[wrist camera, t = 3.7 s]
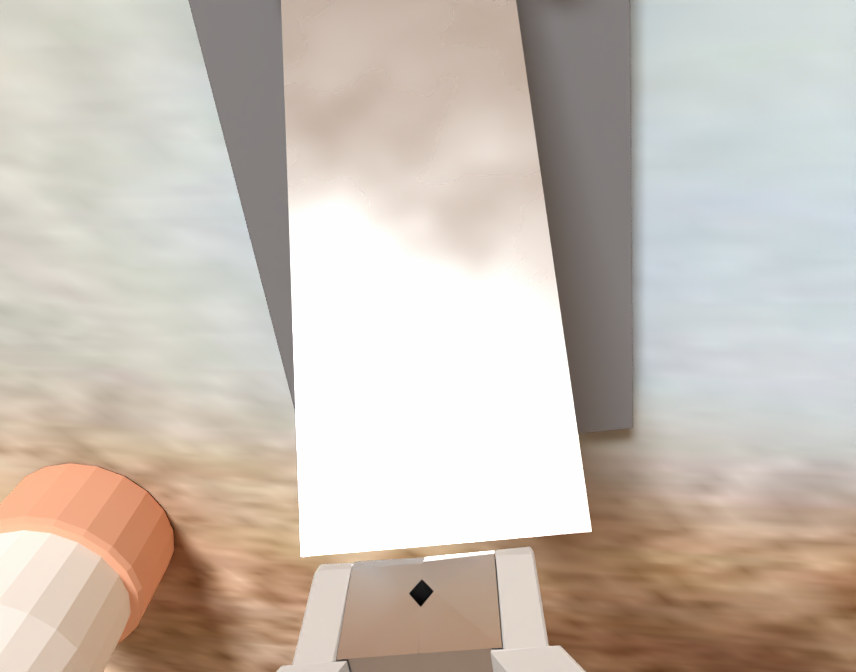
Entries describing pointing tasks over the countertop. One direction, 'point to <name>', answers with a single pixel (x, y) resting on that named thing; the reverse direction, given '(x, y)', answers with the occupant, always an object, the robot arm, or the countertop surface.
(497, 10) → the clamp lever
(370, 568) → the robot arm
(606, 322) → the clamp board
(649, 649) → the countertop surface
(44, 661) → the pepper shaker
